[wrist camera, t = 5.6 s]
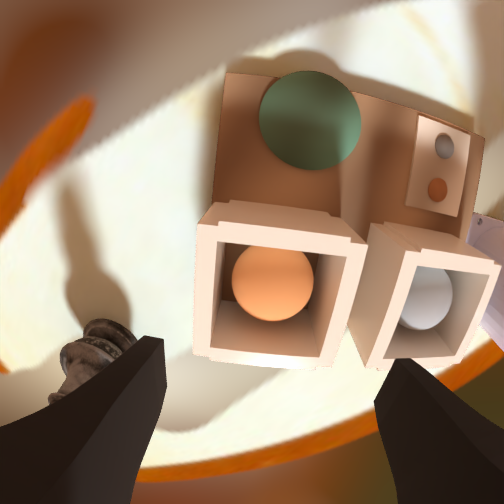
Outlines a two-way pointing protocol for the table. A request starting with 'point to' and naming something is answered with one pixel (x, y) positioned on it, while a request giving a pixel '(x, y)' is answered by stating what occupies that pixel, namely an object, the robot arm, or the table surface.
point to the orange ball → (272, 282)
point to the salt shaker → (91, 354)
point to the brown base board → (341, 158)
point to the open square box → (396, 290)
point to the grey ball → (427, 299)
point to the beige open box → (301, 324)
